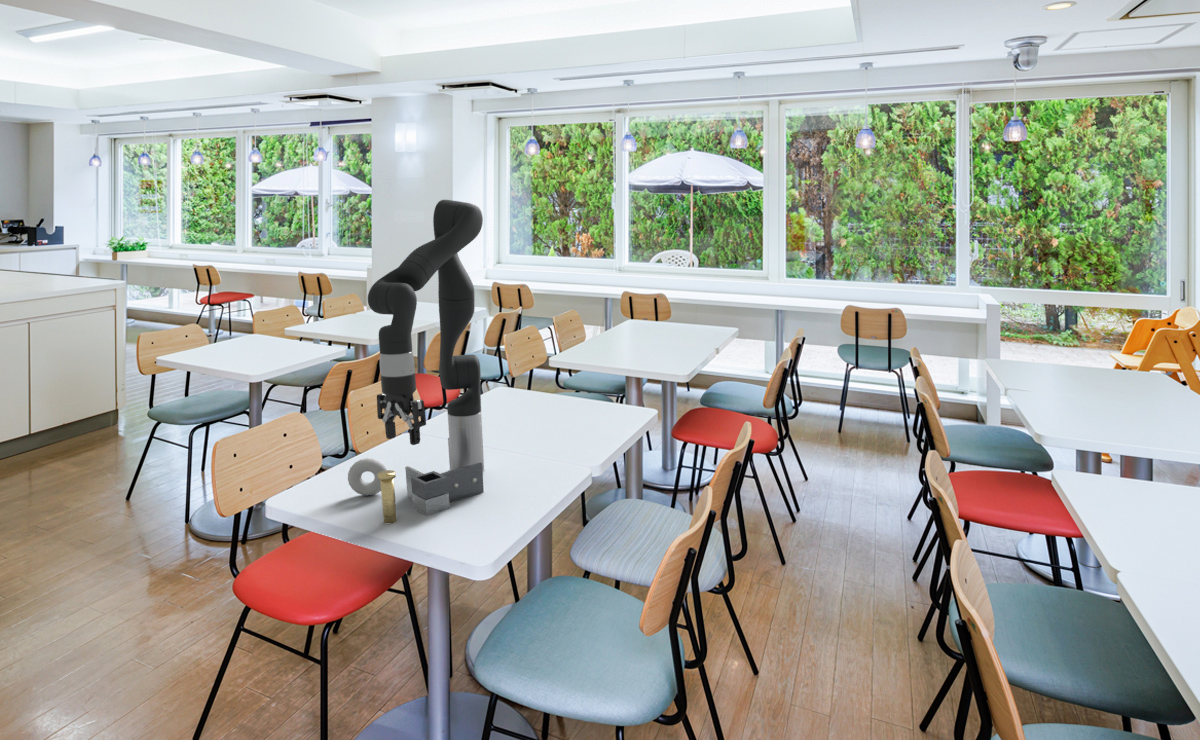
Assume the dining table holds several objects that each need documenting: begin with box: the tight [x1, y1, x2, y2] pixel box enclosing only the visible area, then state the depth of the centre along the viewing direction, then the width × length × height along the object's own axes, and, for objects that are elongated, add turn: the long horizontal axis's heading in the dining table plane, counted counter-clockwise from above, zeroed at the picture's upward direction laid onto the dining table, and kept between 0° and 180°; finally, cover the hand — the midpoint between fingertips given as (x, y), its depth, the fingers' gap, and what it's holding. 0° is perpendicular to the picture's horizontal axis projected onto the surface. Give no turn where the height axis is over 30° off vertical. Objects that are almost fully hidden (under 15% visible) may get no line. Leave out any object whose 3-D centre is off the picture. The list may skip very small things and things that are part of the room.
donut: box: [347, 457, 387, 496], centre depth 185 cm, size 10×3×10 cm, turn 100°
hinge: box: [404, 462, 485, 516], centre depth 183 cm, size 14×18×8 cm
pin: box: [378, 469, 398, 524], centre depth 169 cm, size 4×4×12 cm
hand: (403, 441), depth 164 cm, fingers open, 8 cm apart
